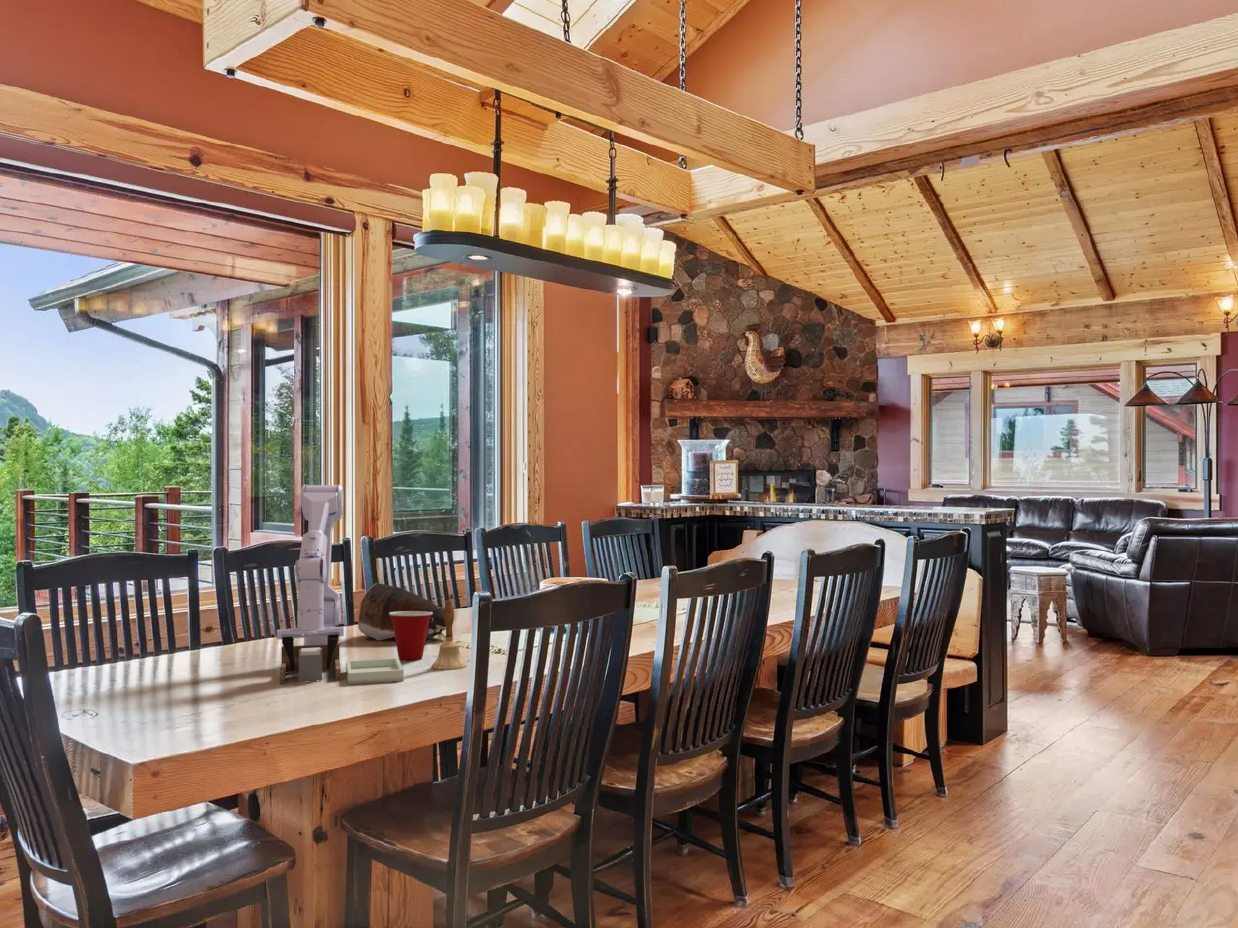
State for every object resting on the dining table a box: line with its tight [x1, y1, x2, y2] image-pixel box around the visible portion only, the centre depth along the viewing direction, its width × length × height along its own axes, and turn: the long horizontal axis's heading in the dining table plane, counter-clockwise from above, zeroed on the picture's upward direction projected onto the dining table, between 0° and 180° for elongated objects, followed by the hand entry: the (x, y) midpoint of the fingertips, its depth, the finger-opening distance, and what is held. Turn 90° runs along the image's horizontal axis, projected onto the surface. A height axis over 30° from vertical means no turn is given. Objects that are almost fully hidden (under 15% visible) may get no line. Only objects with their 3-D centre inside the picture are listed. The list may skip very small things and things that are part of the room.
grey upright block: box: [298, 647, 323, 683], centre depth 218 cm, size 8×5×6 cm, turn 18°
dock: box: [279, 643, 342, 685], centre depth 219 cm, size 13×13×6 cm
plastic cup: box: [389, 611, 433, 662], centre depth 239 cm, size 11×11×12 cm
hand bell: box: [431, 599, 467, 671], centre depth 230 cm, size 8×8×16 cm
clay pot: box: [357, 582, 446, 641], centre depth 266 cm, size 15×15×25 cm
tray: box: [345, 657, 405, 685], centre depth 219 cm, size 14×12×2 cm
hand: (310, 668), depth 218 cm, fingers open, 7 cm apart
